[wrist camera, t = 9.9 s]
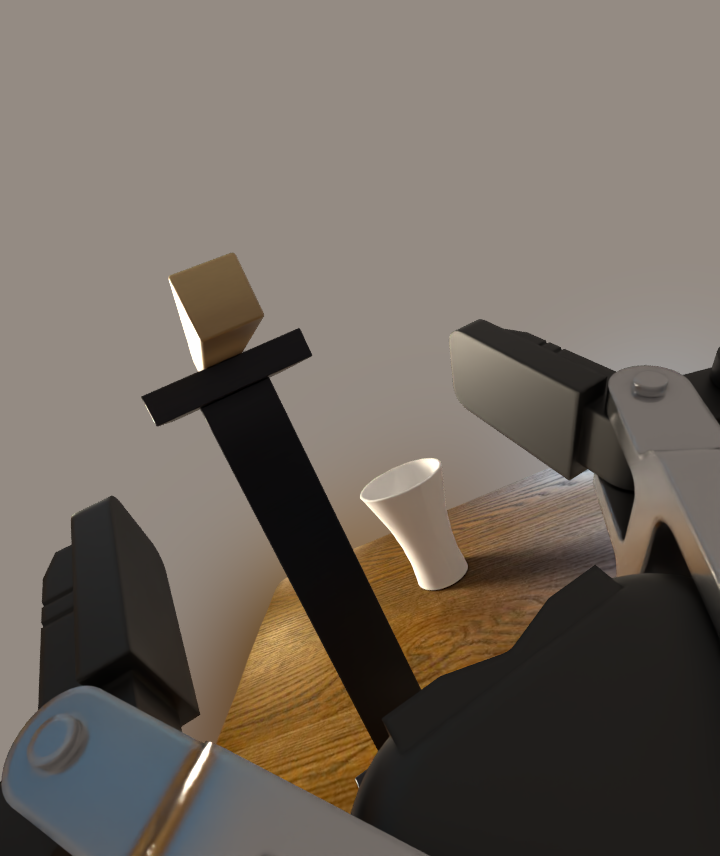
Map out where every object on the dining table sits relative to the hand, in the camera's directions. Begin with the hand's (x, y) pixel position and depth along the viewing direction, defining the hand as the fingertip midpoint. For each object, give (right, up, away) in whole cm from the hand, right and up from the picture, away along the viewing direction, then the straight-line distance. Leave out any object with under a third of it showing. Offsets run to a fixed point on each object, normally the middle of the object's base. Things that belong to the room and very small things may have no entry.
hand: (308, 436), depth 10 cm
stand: (+6, -25, +22) cm, 34 cm away
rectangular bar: (-6, +3, +14) cm, 16 cm away
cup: (+12, -18, +48) cm, 52 cm away
